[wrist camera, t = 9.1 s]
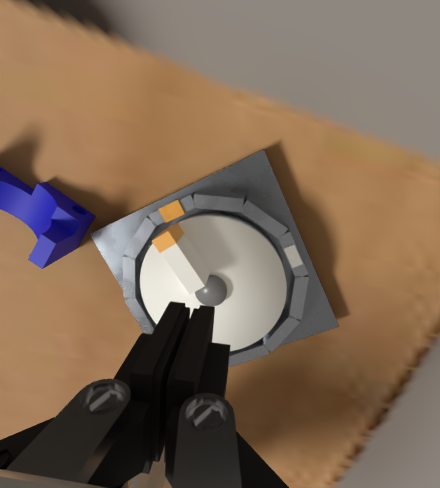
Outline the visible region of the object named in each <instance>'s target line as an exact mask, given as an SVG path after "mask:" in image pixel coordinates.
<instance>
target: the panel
mask: <svg viewBox="0 0 440 488" xmlns="http://www.w3.org/2000/svg"><path fill="white" fill-rule="evenodd" d="M202 213H222V214H227V215H232V216H235V217H238V218H241V219H243V220H245V221H247V222H249V223H251V224H252V225H254V226H255V227H257V228H258V229H259V230H260V231H262V232H263V233H264V234H265V235H266V236H267V237H268V238H269V239H270V241H271V242H272V243H273V245H274V246H275V248H276V250H277V251H278V253H279V255H280V258H281V261H282V264H283V267H284V272H285V277H286V286H287V292H286V300H285V304H284V308H283V311H282V313H281V315H280V317H279V319H278V321H277V322H276V324H275V325H274V326H273V328H272V329H271V330H270V331H269V332H268V333H267V334H266V335H265V336H264V337H262V338H261V339H260V340H258V341H257V342H255V343H253V344H251V345H249V346H247V347H244V348H242V349H238V350H234V351H230V356H229V366H230V367H232V366H235V365H238V364H241V363H244V362H247V361H250V360H253V359H256V358H259V357H263V356H266V355H269V354H270V351H271V352H273V351H274V350H275V349H276V348H277V347H279V346H282V345H285V344H288V343H291V342H294V341H297V340H300V339H303V338H306V337H309V336H312V335H315V334H318V333H321V332H324V331H327V330H330V329H333V328H336V327H339V325H338V323H337V320H336V318H335V315H334V313H333V311H332V308H331V306H330V304H329V301H328V299H327V297H326V294H325V292H324V290H323V287H322V285H321V283H320V280H319V278H318V276H317V273H316V271H315V269H314V266H313V264H312V261H311V259H310V257H309V254H308V252H307V250H306V247H305V245H304V243H303V240H302V238H301V236H300V233H299V231H298V229H297V226H296V224H295V222H294V219H293V217H292V214H291V212H290V210H289V207H288V205H287V203H286V200H285V198H284V196H283V193H282V191H281V189H280V186H279V184H278V182H277V179H276V177H275V175H274V172H273V170H272V167H271V165H270V163H269V160H268V158H267V156H266V153H265V151H264V149H263V150H261V151H259V152H257V153H255V154H253V155H251V156H249V157H246V158H244V159H242V160H240V161H238V162H236V163H234V164H232V165H230V166H228V167H226V168H224V169H222V170H220V171H218V172H216V173H214V174H212V175H209V176H207V177H205V178H203V179H201V180H199V181H197V182H195V183H193V184H191V185H189V186H187V187H185V188H183V189H181V190H179V191H177V192H175V193H172V194H170V195H168V196H166V197H164V198H162V199H160V200H158V201H156V202H154V203H152V204H150V205H148V206H146V207H144V208H142V209H140V210H138V211H135V212H133V213H131V214H129V215H127V216H125V217H123V218H121V219H119V220H117V221H115V222H113V223H111V224H109V225H107V226H105V227H103V228H101V229H98V230H96V231H95V232H93V233H91V234H90V236H91V237H92V239H93V241H94V242H95V244H96V246H97V247H98V249H99V251H100V252H101V254H102V256H103V258H104V259H105V261H106V263H107V264H108V266H109V268H110V269H111V271H112V273H113V274H114V276H115V278H116V279H117V281H118V283H119V284H120V286H121V288H122V290H123V294H124V298H126V299H125V300H124V301H125V302H126V304H127V306H128V307H129V309H130V311H131V312H132V314H133V316H134V317H135V319H136V321H137V322H138V324H139V326H140V327H141V329H142V331H143V332H144V333H146V334H152V333H153V331H154V329H155V327H156V326H157V324H156V323H155V322H154V321H153V319H152V318H151V316H150V314H149V313H148V311H147V309H146V307H145V304H144V301H143V298H142V294H141V289H140V273H141V267H142V263H143V260H144V258H145V255H146V253H147V251H148V250H149V248H150V246H151V245H152V244H153V243H152V240H153V239H154V238H155V237H156V236H158V235H159V234H160V233H161V232H162V231H163V230H165V229H167V228H168V227H170V226H171V225H173V224H174V223H176V222H178V221H180V220H182V219H184V218H186V217H189V216H192V215H197V214H202Z"/></svg>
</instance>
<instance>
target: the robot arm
mask: <svg viewBox="0 0 440 488" xmlns="http://www.w3.org/2000/svg"><path fill="white" fill-rule="evenodd" d="M214 314H215V307H213V306H205V305H200V307H199V309H198V308H194V309H193V312H192V315H191V317H190V307H185V303H181V302H173V301H170V302H169V304H168V306H167V308H166V309H165V311H164V313H163V315H162V317H161V318H160V320H159V322H158V324H157V326H156V327H155V329H154V331H153V333H152V334H146V333H142V334H141V335H140V336H139V338H138V340H137V341H136V343H135V344H134V346H133V348H132V349H131V351H130V353H129V354H128V356H127V357H126V359H125V361H124V362H123V364H122V366H121V367H120V369H119V371H118V372H117V374H116V375H115V377H114V379H101V380H98V381H94V382H92V383H90V384H88V385H86V386H85V387H84V388H83V389H81V390H80V391H79V392H78V393H77V394H76V395H75V397H74V398H73V399H72V400H71V401H70V402H69V403H68V404H67V405H66V406H65V407H64V408H63V409H62V410H61V411H60V412H59V413H58V415H57V416H56V417H54V418H51V419H49V420H47V421H44V422H42V423H40V424H37V425H35V426H33V427H30V428H28V429H25V430H23V431H21V432H18V433H16V434H14V435H11V436H9V437H7V438H4V439H2V440H0V488H289V487H288V486H287V485H286V484H285V483H284V482H283V481H282V480H281V479H280V477H279V476H278V475H277V474H276V473H275V472H274V471H273V470H272V469H271V468H270V467H269V466H268V465H267V464H266V462H265V461H264V460H263V459H262V458H261V457H260V456H259V455H258V454H257V453H256V452H255V451H254V450H253V448H252V447H251V446H250V445H249V444H248V443H247V442H246V441H245V440H244V439H243V438H242V437H241V436H240V435H239V433H238V432H237V431H236V425H235V415H234V411H233V408H232V406H231V405H230V403H229V402H228V401H227V400H226V399H225V391H226V383H227V374H228V365H229V356H230V346H231V345H228V344H221V343H213V342H212V338H213V326H214Z"/></svg>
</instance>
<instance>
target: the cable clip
mask: <svg viewBox="0 0 440 488" xmlns="http://www.w3.org/2000/svg"><path fill="white" fill-rule="evenodd" d="M0 209H1V210H4V211H6V212H8V213H10V214H12V215H14V216H15V217H17V218H19V219H20V220H22V221H23V222H24V223H26V224H27V225H28V226H29V227H30V228H31V229H32V230H33V232H34V233H35V234H36V236H37V238H38V241H37V243H36V245H35V247H34V249H33V251H32V253H31V255H30V257H29V259H28V260H30V261H31V262H33V263H34V264H36V265H37V266H39V267H40V268H42V269H43V268H45V267H46V266H48V265H50V264H52V263H53V262H55V261H57V260H58V259H60V258H62V257H63V256H65V255H67V254H69V253H70V252H72V251H74V250H75V249H77V247H78V245H79V244H80V242H81V240H82V238H83V237H84V235H85V233H86V232H87V230H88V228H89V226H90V225H91V223H92V221H93V219H94V218H95V216H94V215H93V214H92V213H90V212H89V211H87V210H86V209H84V208H83V207H81V206H80V205H78V204H77V203H76V202H74V201H73V200H71V199H70V198H68V197H67V196H65V195H64V194H63V193H61V192H60V191H58V190H57V189H55V188H54V187H52V186H51V185H50V184H48V183H47V182H43V183H38V184H37V185H36V187H35V189H32V188H31V187H29V186H28V185H26V184H25V183H24V182H22V181H21V180H19V179H18V178H16V177H15V176H13V175H12V174H10V173H9V172H7V171H6V170H5V169H3V168H2V167H0Z"/></svg>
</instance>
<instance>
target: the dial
mask: <svg viewBox="0 0 440 488" xmlns="http://www.w3.org/2000/svg"><path fill="white" fill-rule="evenodd" d="M152 243H153V244H152V245H151V246H150V248H149V250H148V251H147V253H146V255H145V258H144V260H143V263H142V267H141V273H140V289H141V294H142V298H143V301H144V304H145V307H146V309H147V311H148V313H149V314H150V316H151V318H152V319H153V321H154V322H155V323H156V324H158V322H159V320H160V318H161V317H162V315H163V313H164V311H165V309H166V308H167V306H168V304H169V302H170V301H173V302H181V303H185V307H190V317H191V315H192V312H193V309H194V308H198V309H199V307H200V305H205V306H213V307H215V314H214V326H213V338H212V342H213V343H221V344H228V345H231V346H230V351H234V350H238V349H242V348H244V347H247V346H249V345H251V344H253V343H255V342H257V341H258V340H260V339H261V338H262V337H264V336H265V335H266V334H267V333H268V332H269V331H270V330H271V329H272V328H273V326H274V325H275V324H276V322H277V321H278V319H279V317H280V315H281V313H282V311H283V308H284V304H285V300H286V292H287V286H286V277H285V272H284V267H283V264H282V261H281V258H280V255H279V253H278V251H277V250H276V248H275V246H274V245H273V243H272V242H271V241H270V239H269V238H268V237H267V236H266V235H265V234H264V233H263V232H262V231H260V230H259V229H258V228H257V227H255V226H254V225H252V224H251V223H249V222H247V221H245V220H243V219H241V218H238V217H235V216H232V215H227V214H222V213H202V214H197V215H192V216H189V217H186V218H184V219H182V220H180V221H178V222H176V223H174V224H173V225H171V226H170V227H168V228H167V229H165V230H163V231H162V232H161V233H160V234H159V235H158V236H156V237H155V238H154V239H153V240H152Z"/></svg>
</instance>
